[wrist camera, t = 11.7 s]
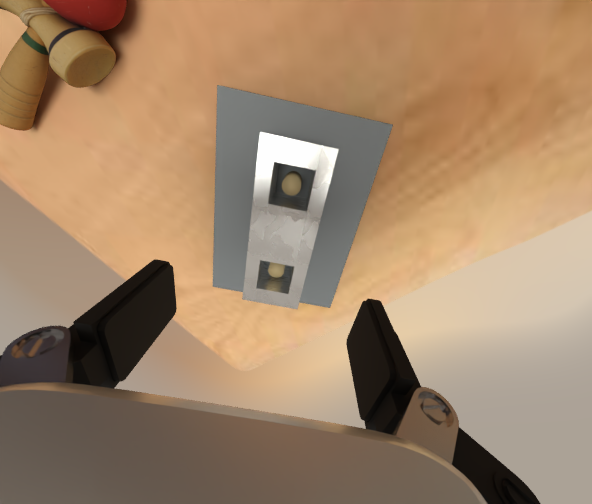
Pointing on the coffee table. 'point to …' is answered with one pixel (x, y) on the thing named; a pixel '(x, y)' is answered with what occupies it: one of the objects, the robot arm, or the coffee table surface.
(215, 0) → the coffee table surface
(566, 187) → the coffee table surface
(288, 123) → the pin board
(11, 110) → the kendama
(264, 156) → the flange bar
